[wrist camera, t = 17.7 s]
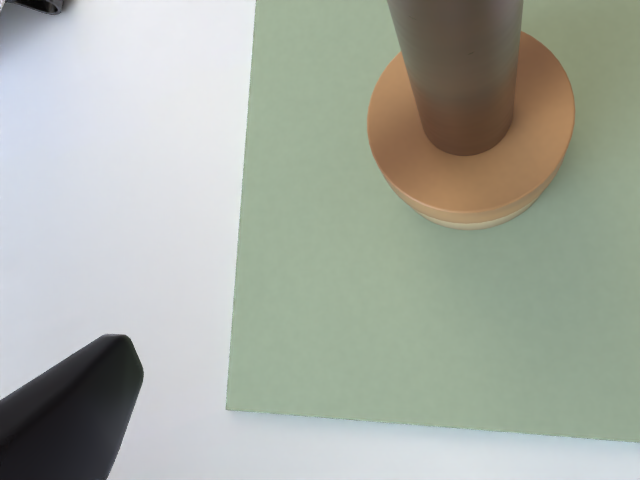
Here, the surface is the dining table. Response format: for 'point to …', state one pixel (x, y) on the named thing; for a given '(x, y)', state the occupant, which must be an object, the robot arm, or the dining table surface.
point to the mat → (435, 245)
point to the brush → (469, 112)
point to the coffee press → (38, 5)
